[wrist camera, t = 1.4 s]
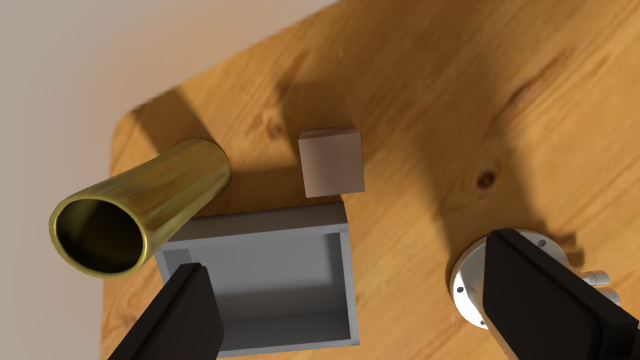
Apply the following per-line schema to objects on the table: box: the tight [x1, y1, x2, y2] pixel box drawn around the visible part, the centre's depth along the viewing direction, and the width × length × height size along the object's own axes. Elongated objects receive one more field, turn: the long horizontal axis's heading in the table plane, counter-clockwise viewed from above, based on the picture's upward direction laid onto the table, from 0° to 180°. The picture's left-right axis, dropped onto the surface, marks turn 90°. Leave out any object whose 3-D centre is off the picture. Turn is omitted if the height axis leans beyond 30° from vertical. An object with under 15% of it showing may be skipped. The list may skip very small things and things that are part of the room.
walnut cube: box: [298, 125, 365, 198], centre depth 27 cm, size 5×5×5 cm
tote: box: [154, 202, 360, 358], centre depth 31 cm, size 18×14×5 cm
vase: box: [49, 138, 231, 279], centre depth 23 cm, size 6×6×14 cm
